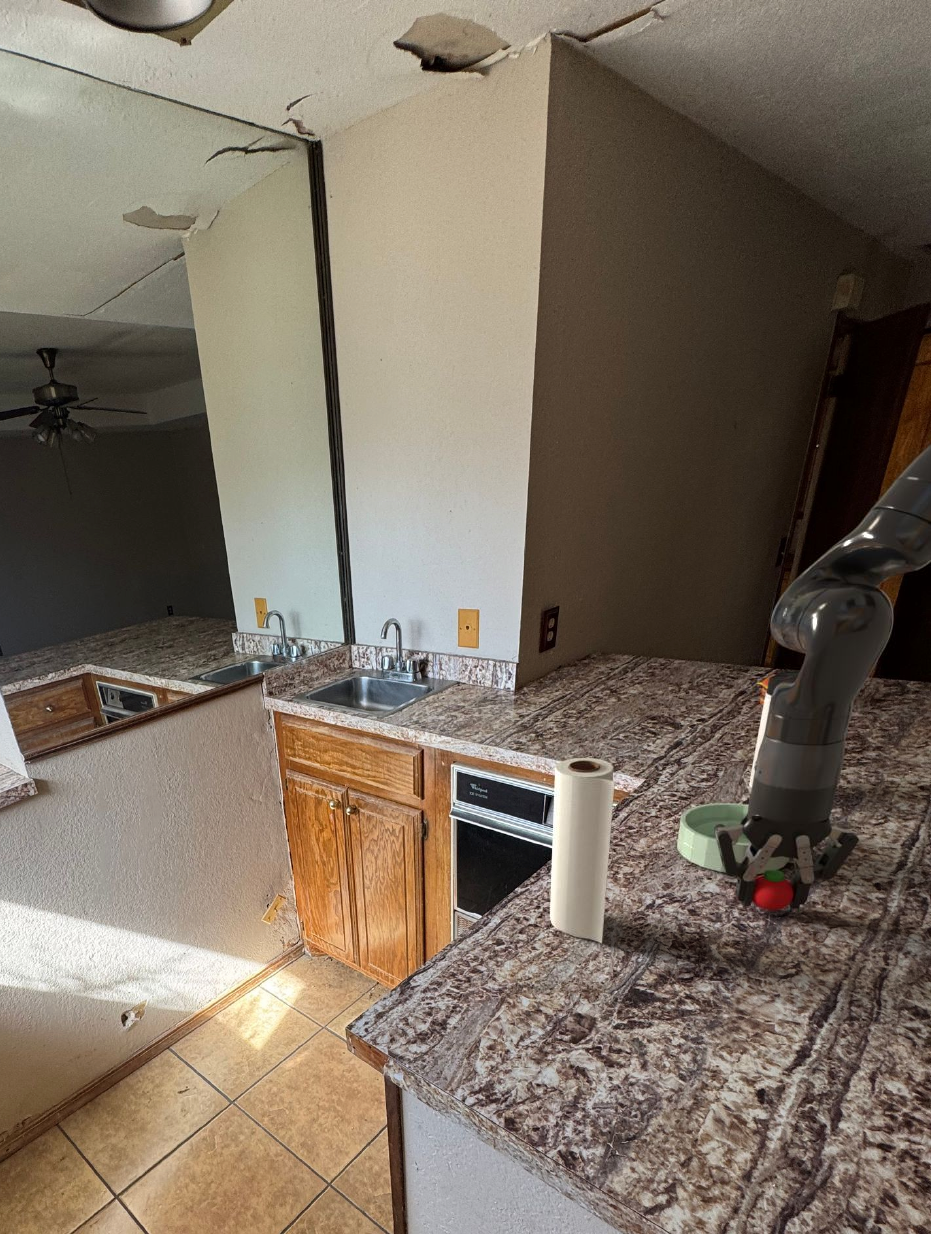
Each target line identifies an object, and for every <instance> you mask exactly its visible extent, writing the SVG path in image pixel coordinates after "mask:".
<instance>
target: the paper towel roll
mask: <svg viewBox="0 0 931 1234" xmlns="http://www.w3.org/2000/svg"><path fill="white" fill-rule="evenodd" d="M614 768H615V767H614V766H613V764H612V763H610V762H609V761H606V760H604V759H599V758H594V757H593V758H592V757H576V758H575V757H573V758H570V759H564V760H562V761H559V762H558V763H557V764H556V766H555V768H554V796H553V821H552V822H553V823H552V828H553V829H552V846H551V847H552V853H551V877H550V879H551V880H550V905H549V911H550V912H549V919H550V923H551V925H552V926H553V927H554V928H555V929H556V930H558V931H560V932H563V933H565V934H567V935H570V936H573V937H575V938H581V939H588V940H592V941H595V942H598V943H599V944H603V935H604V924H605V923H604V921H605V910H606V900H607V899H606V897H607V886H608V885H607V884H608V874H609V873H608V872H609V870H608V869H609V861H610V849H611V848H610V847H611V837H612V836H611V835H612V834H611V833H612V824H613V823H612V822H613V810H614V797H615V786H616V785H615V784H616V781H614Z"/></svg>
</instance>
